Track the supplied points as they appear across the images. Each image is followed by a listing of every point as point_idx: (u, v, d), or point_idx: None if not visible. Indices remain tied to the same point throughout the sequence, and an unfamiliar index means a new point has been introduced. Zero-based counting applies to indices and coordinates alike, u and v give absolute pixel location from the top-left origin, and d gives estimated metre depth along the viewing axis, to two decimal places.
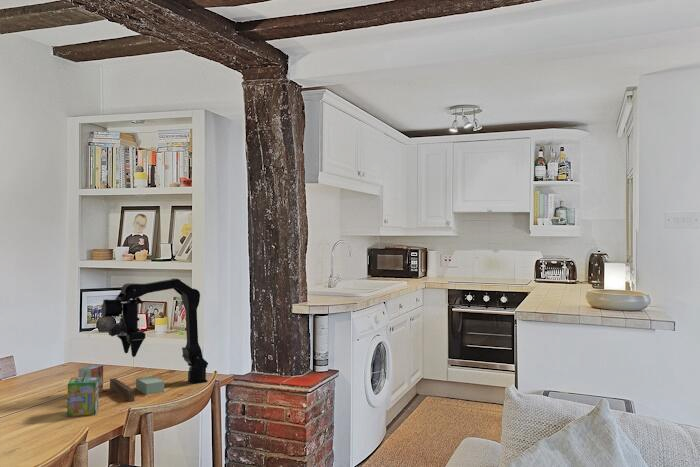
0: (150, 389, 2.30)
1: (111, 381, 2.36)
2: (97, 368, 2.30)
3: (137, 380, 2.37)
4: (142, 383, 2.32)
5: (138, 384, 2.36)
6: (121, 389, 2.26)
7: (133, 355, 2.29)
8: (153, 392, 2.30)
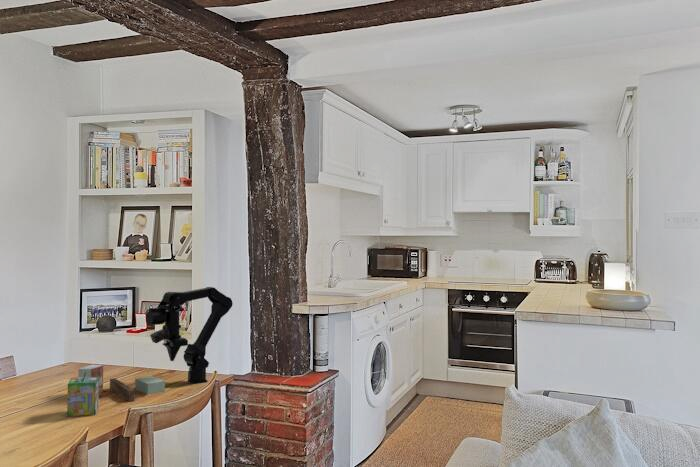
0: (151, 389, 2.30)
1: (111, 381, 2.36)
2: (97, 368, 2.30)
3: (136, 380, 2.36)
4: (143, 383, 2.32)
5: (138, 384, 2.35)
6: (121, 389, 2.26)
7: (172, 359, 2.41)
8: (154, 392, 2.31)
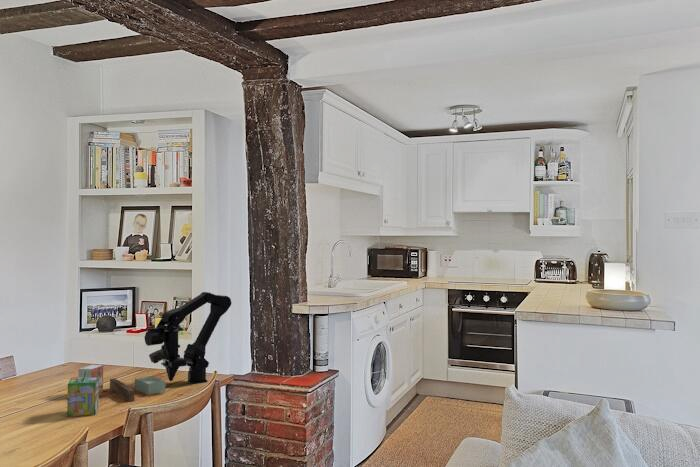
0: (152, 389, 2.30)
1: (111, 381, 2.36)
2: (97, 368, 2.30)
3: (136, 380, 2.36)
4: (143, 383, 2.32)
5: (138, 384, 2.35)
6: (121, 389, 2.26)
7: (170, 379, 2.40)
8: (155, 392, 2.31)
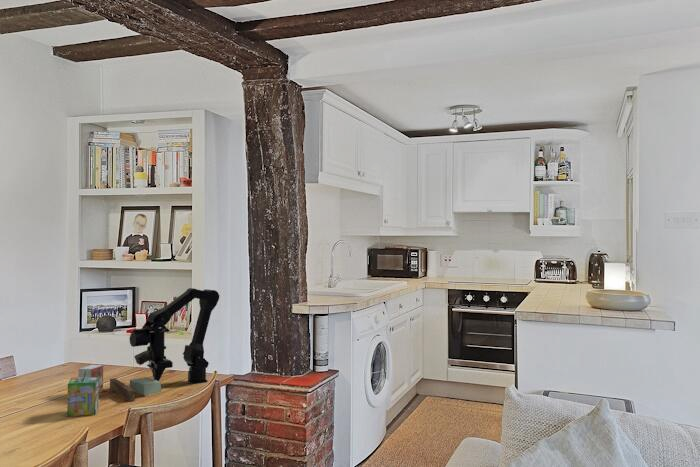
0: (148, 390, 2.29)
1: (111, 381, 2.36)
2: (97, 368, 2.30)
3: (131, 382, 2.35)
4: (139, 384, 2.30)
5: (133, 386, 2.34)
6: (121, 389, 2.26)
7: None
8: (150, 393, 2.29)
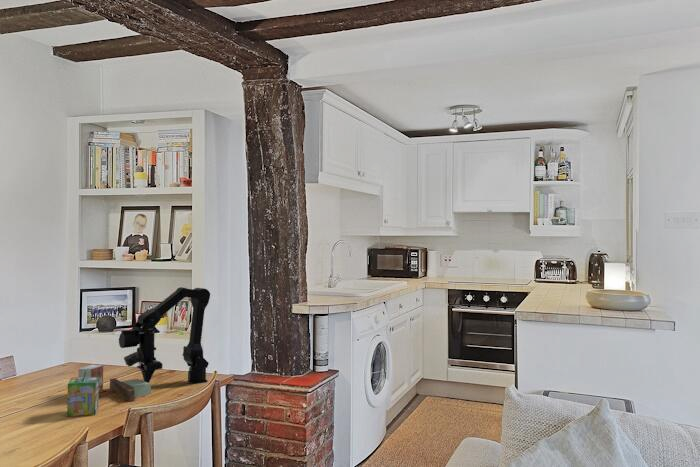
0: (137, 392, 2.26)
1: (111, 381, 2.36)
2: (97, 368, 2.30)
3: None
4: None
5: None
6: (121, 389, 2.26)
7: None
8: (140, 395, 2.26)
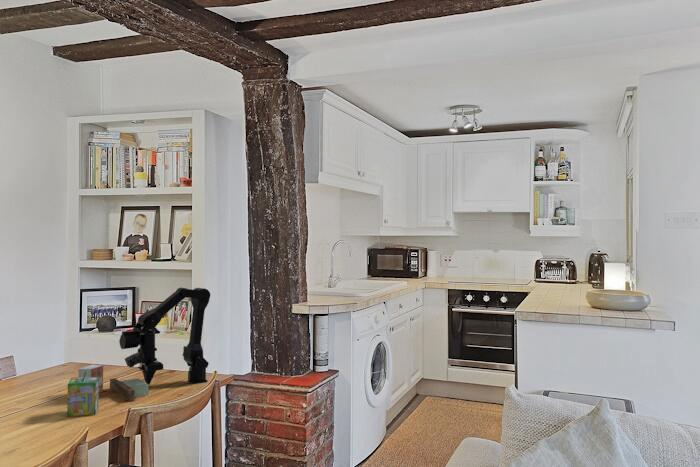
0: None
1: (111, 381, 2.36)
2: (97, 368, 2.30)
3: None
4: None
5: None
6: (121, 389, 2.26)
7: (147, 383, 2.34)
8: (137, 395, 2.26)
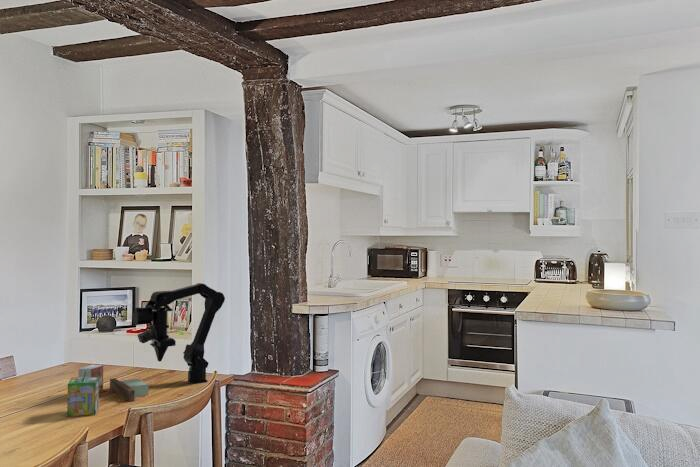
0: None
1: (111, 381, 2.36)
2: (97, 368, 2.30)
3: None
4: None
5: None
6: (121, 389, 2.26)
7: (159, 360, 2.38)
8: (137, 395, 2.26)
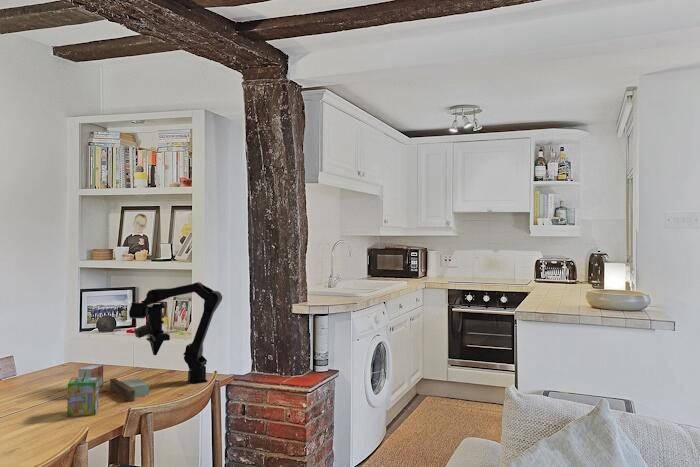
0: None
1: (111, 381, 2.36)
2: (97, 368, 2.30)
3: None
4: None
5: None
6: (121, 389, 2.26)
7: (154, 354, 2.50)
8: (137, 395, 2.26)
